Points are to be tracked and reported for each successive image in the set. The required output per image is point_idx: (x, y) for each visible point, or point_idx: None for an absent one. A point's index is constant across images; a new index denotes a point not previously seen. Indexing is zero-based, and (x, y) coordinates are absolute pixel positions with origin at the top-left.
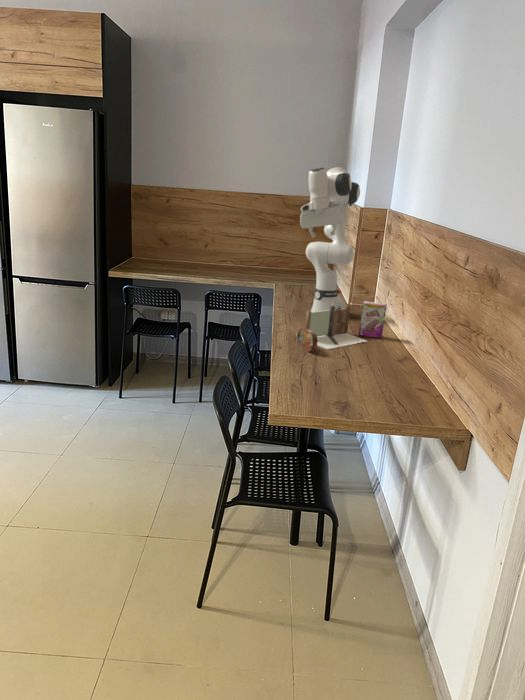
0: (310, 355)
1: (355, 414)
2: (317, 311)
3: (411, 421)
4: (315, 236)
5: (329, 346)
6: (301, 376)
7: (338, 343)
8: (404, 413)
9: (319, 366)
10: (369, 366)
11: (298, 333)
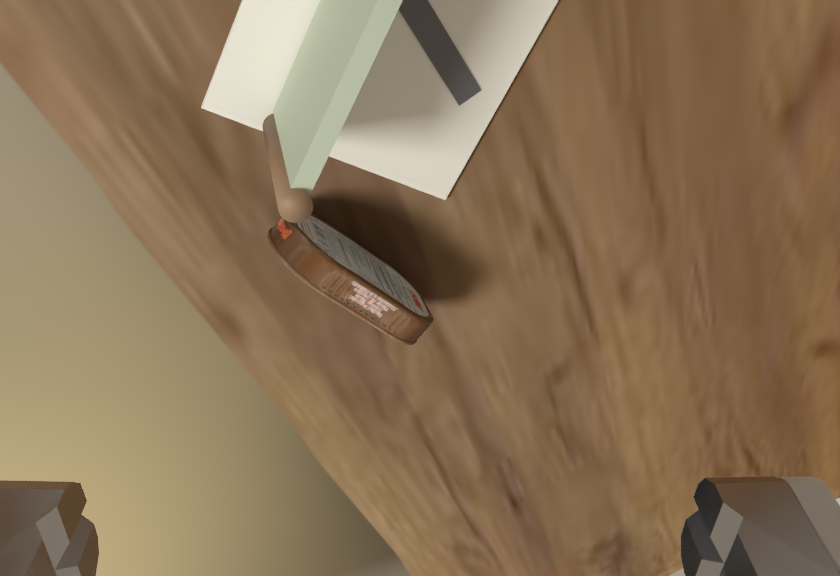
0: None
1: (647, 564)
2: (329, 121)
3: None
4: (71, 504)
5: (443, 156)
6: (456, 494)
7: (471, 67)
8: None
9: (481, 393)
10: (661, 270)
11: (271, 243)
